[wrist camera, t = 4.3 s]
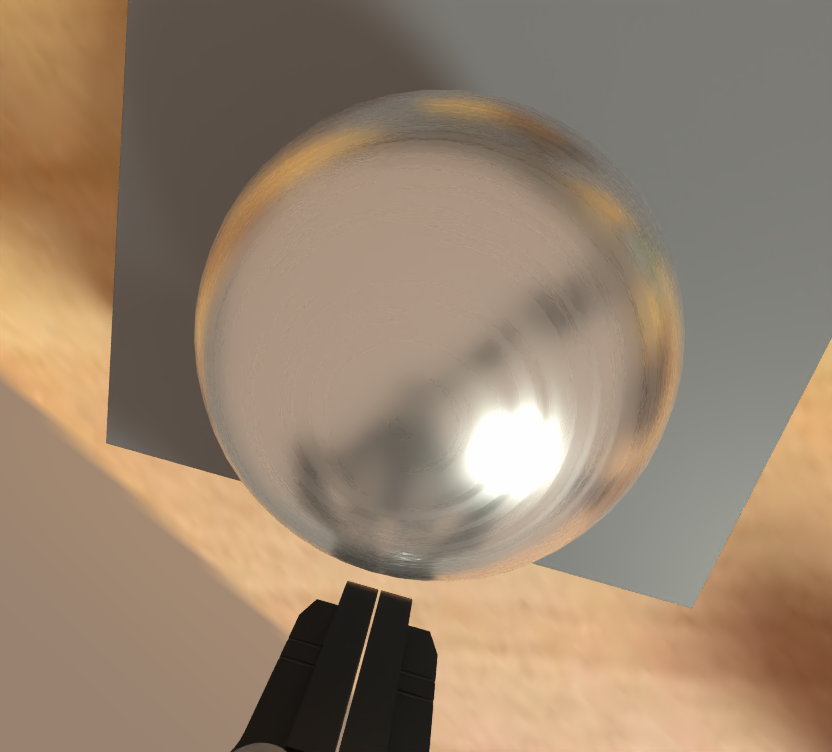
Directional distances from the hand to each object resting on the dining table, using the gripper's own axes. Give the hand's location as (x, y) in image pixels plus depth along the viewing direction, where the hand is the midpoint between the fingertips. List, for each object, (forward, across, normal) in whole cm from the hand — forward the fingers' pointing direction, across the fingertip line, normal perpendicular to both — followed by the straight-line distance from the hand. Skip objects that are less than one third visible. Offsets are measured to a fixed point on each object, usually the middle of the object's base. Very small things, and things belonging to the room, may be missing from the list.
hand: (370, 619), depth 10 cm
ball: (-2, 0, -7) cm, 7 cm away
